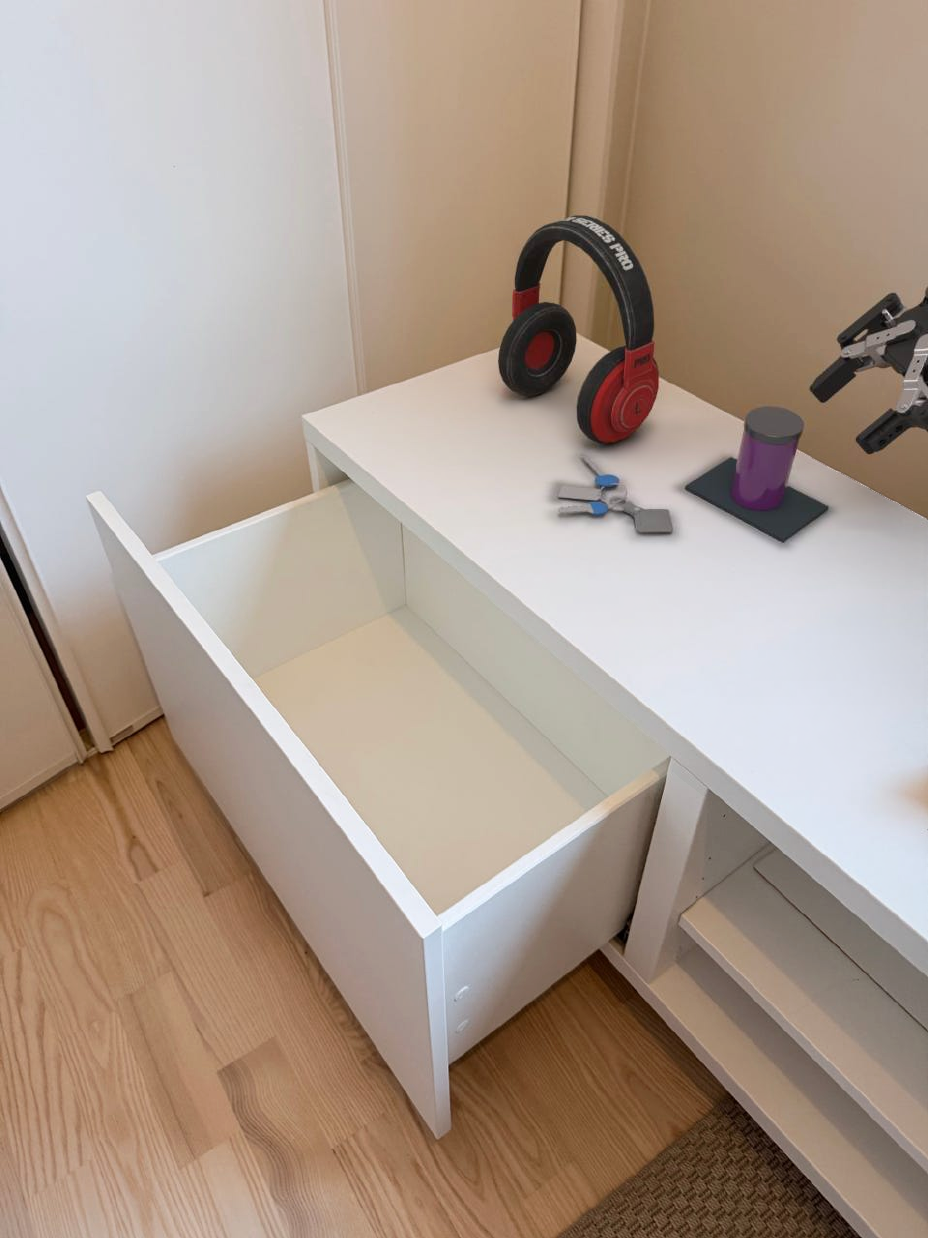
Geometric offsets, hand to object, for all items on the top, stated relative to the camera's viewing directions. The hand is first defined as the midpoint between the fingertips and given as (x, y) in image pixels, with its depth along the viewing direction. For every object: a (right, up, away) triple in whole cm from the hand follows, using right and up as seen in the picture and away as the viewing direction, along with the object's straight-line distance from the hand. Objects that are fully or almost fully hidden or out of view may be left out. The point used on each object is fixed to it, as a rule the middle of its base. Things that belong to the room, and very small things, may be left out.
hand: (837, 421), depth 82 cm
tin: (-6, -6, +5) cm, 9 cm away
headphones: (-21, +4, +16) cm, 27 cm away
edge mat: (-6, -6, +5) cm, 10 cm away
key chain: (-20, -7, +5) cm, 22 cm away
